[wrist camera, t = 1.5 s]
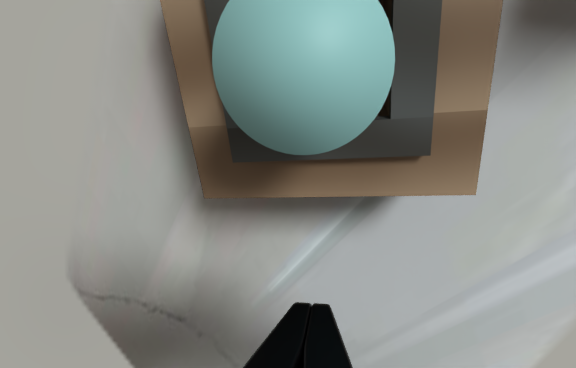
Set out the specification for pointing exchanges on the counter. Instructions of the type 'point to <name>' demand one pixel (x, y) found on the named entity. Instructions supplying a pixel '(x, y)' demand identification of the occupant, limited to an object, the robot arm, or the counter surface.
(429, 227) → the counter surface
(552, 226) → the counter surface
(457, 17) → the socket block
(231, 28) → the peg
